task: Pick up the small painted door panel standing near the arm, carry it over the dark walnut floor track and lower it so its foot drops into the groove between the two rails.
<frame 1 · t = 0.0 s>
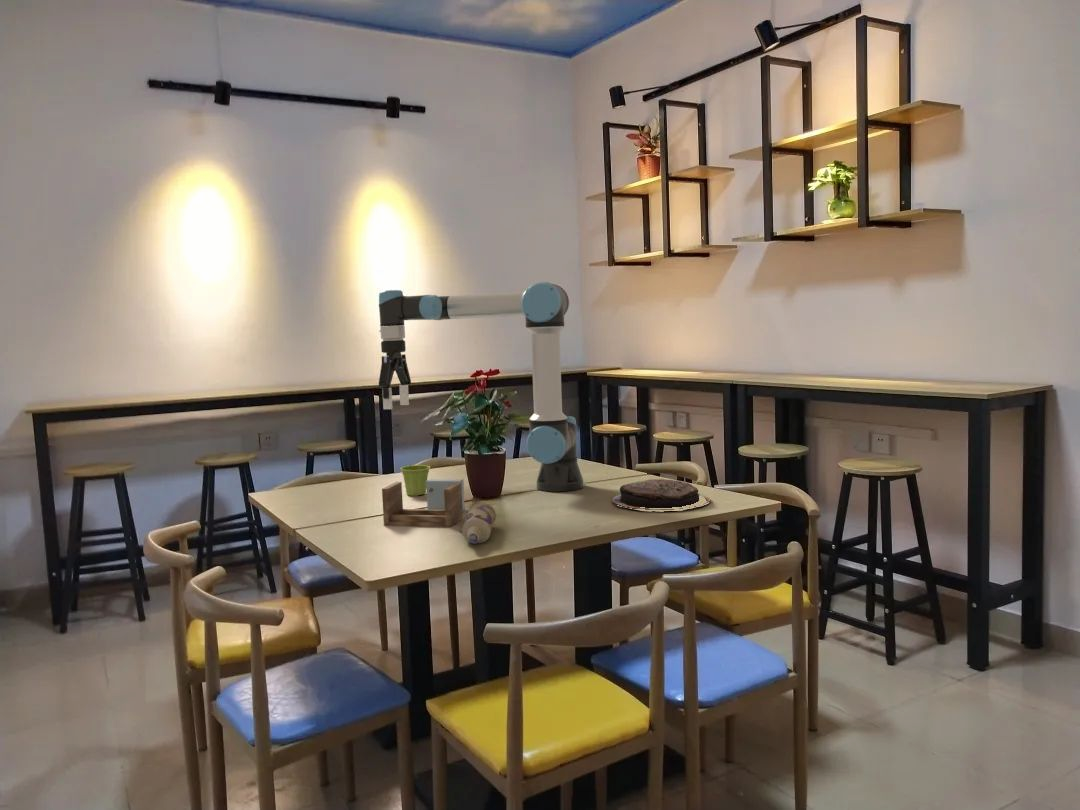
hand: (396, 407, 266), 28 cm above the table, tool pointing down, fingers open, 13 cm apart
chocolate cake: (660, 504, 243), on the table
decorative bottle: (475, 539, 208), on the table
door panel: (446, 511, 242), on the table
plant pot: (416, 495, 268), on the table
track: (423, 521, 228), on the table
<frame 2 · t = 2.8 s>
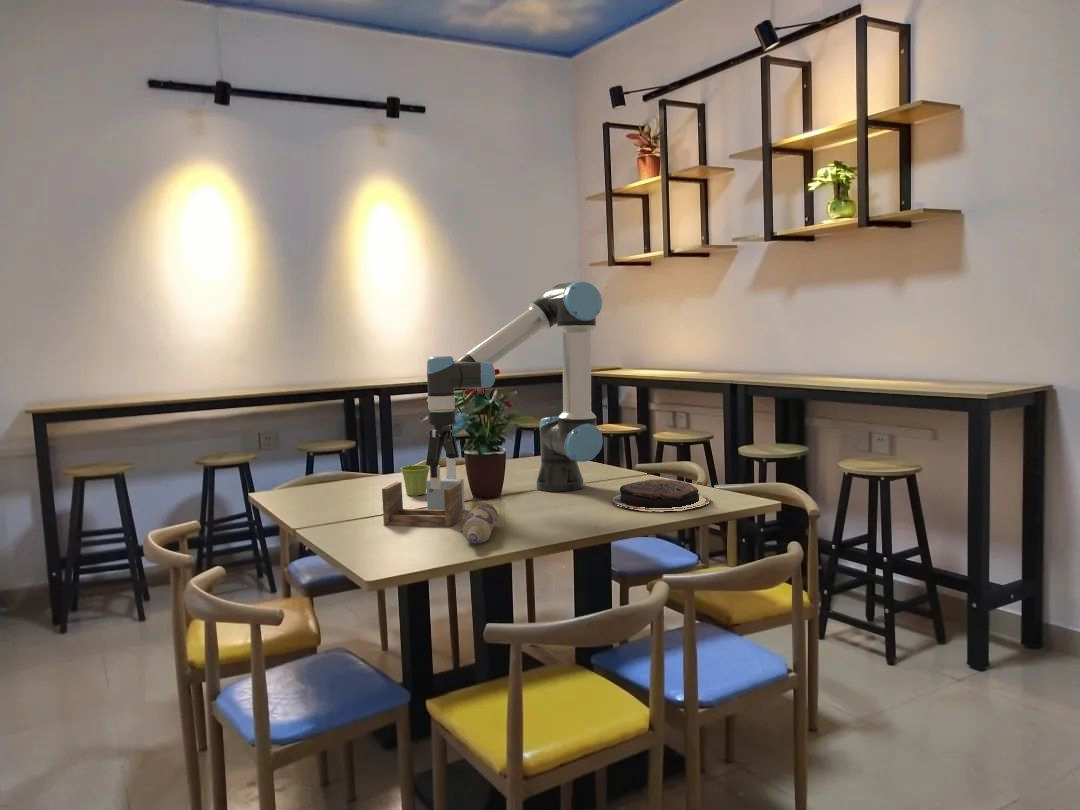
hand: (443, 484, 241), 8 cm above the table, tool pointing down, fingers open, 13 cm apart
nothing on the table moved.
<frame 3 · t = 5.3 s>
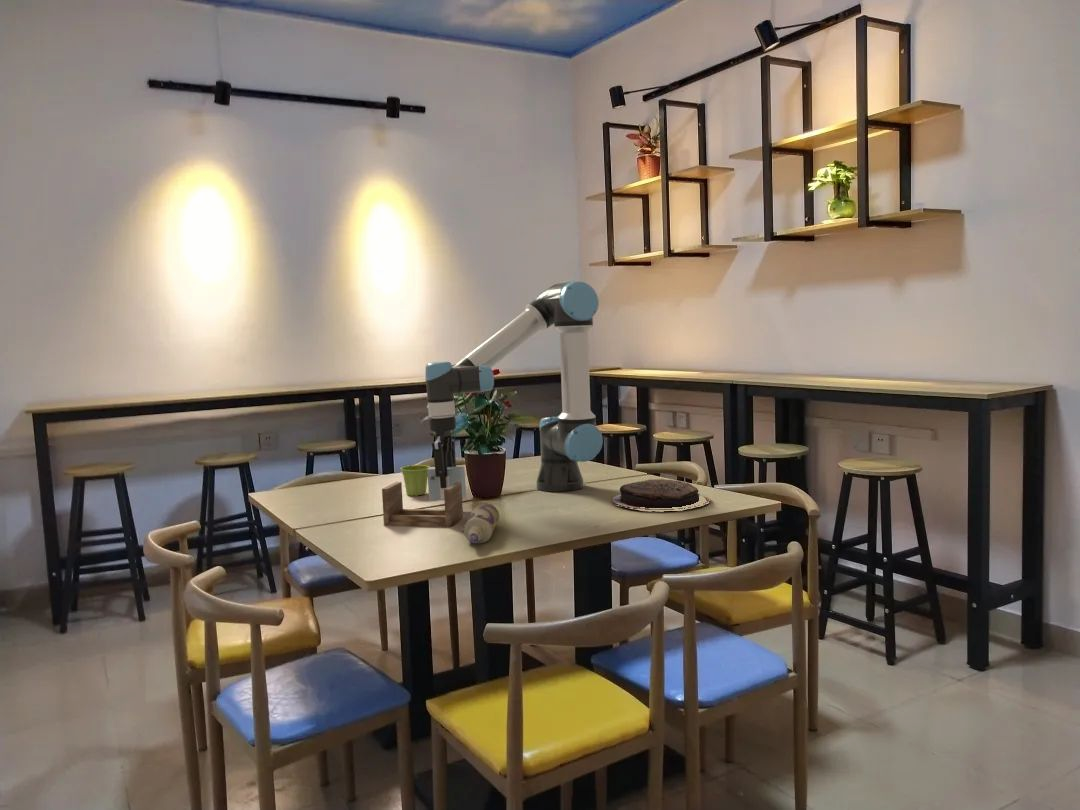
hand: (448, 497, 241), 4 cm above the table, tool pointing down, fingers closed on door panel, 3 cm apart
door panel: (447, 498, 242), point 3 cm above the table, touching gripper
everything else where it was.
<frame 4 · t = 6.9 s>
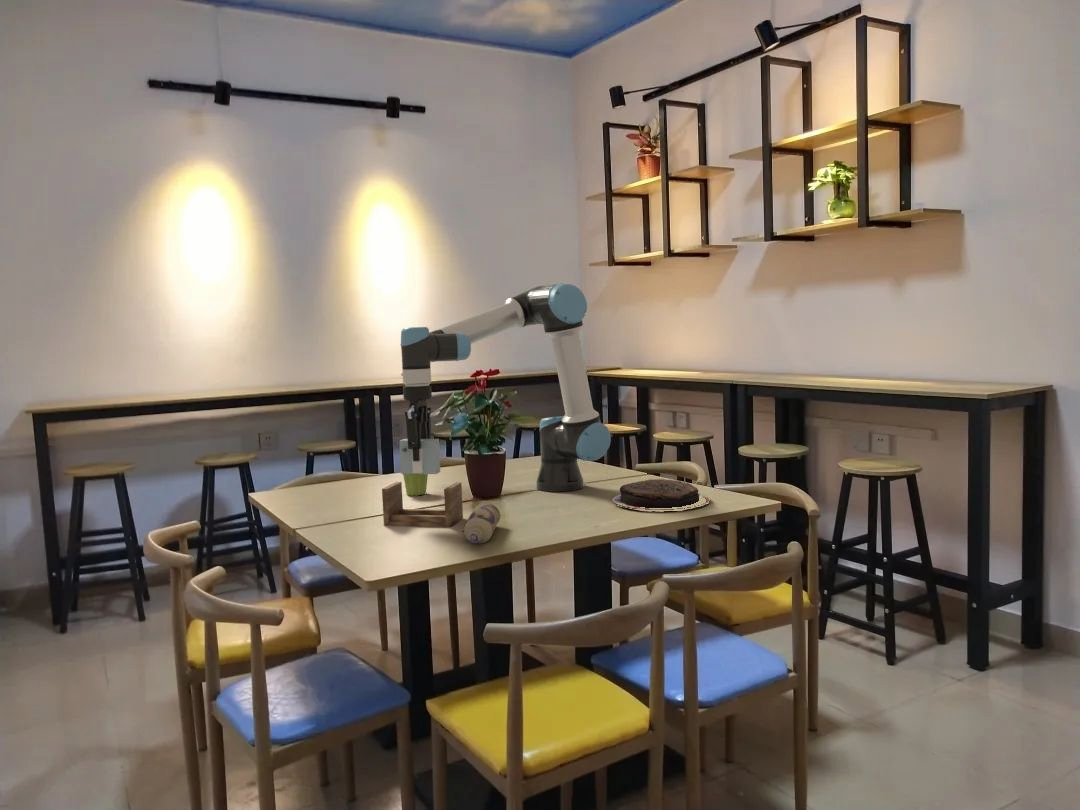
hand: (420, 471, 227), 14 cm above the table, tool pointing down, fingers closed on door panel, 3 cm apart
door panel: (420, 472, 227), point 13 cm above the table, touching gripper
everything else where it was.
when the fingers open (3 cm above the table, at t = 8.7 s): door panel drops 2 cm, resting on track.
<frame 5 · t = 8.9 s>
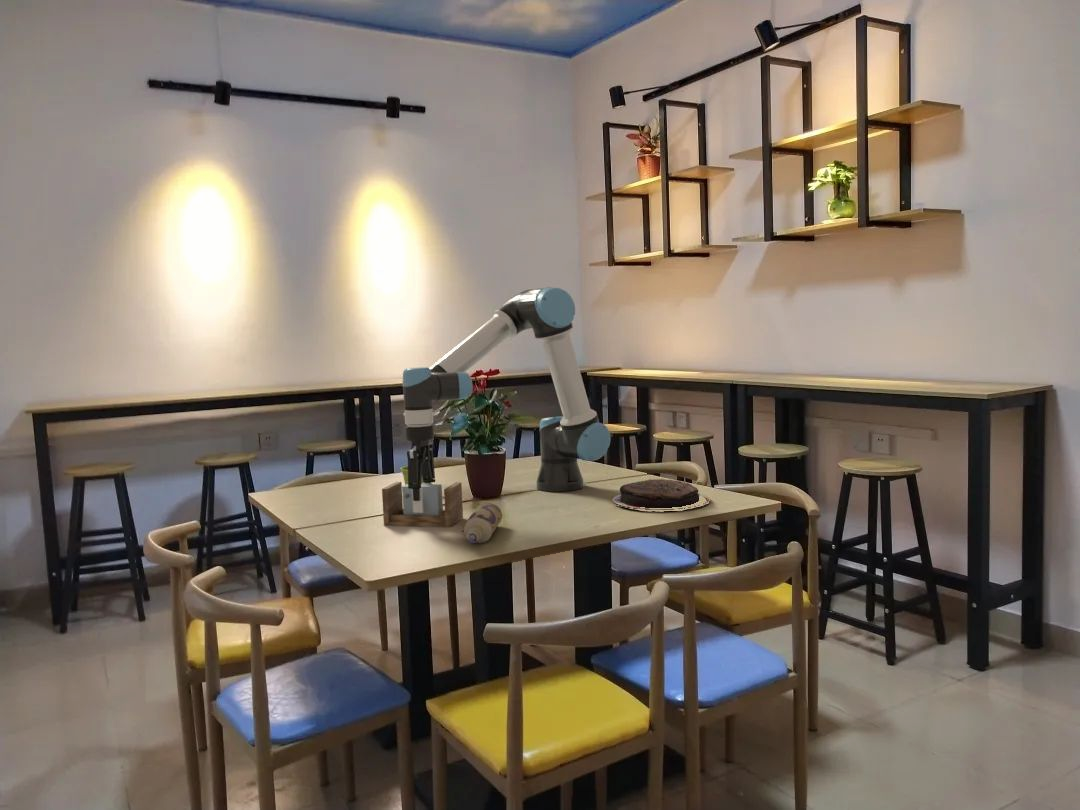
hand: (423, 509, 228), 3 cm above the table, tool pointing down, fingers open, 7 cm apart
door panel: (423, 518, 228), point 1 cm above the table, touching track
everything else where it was.
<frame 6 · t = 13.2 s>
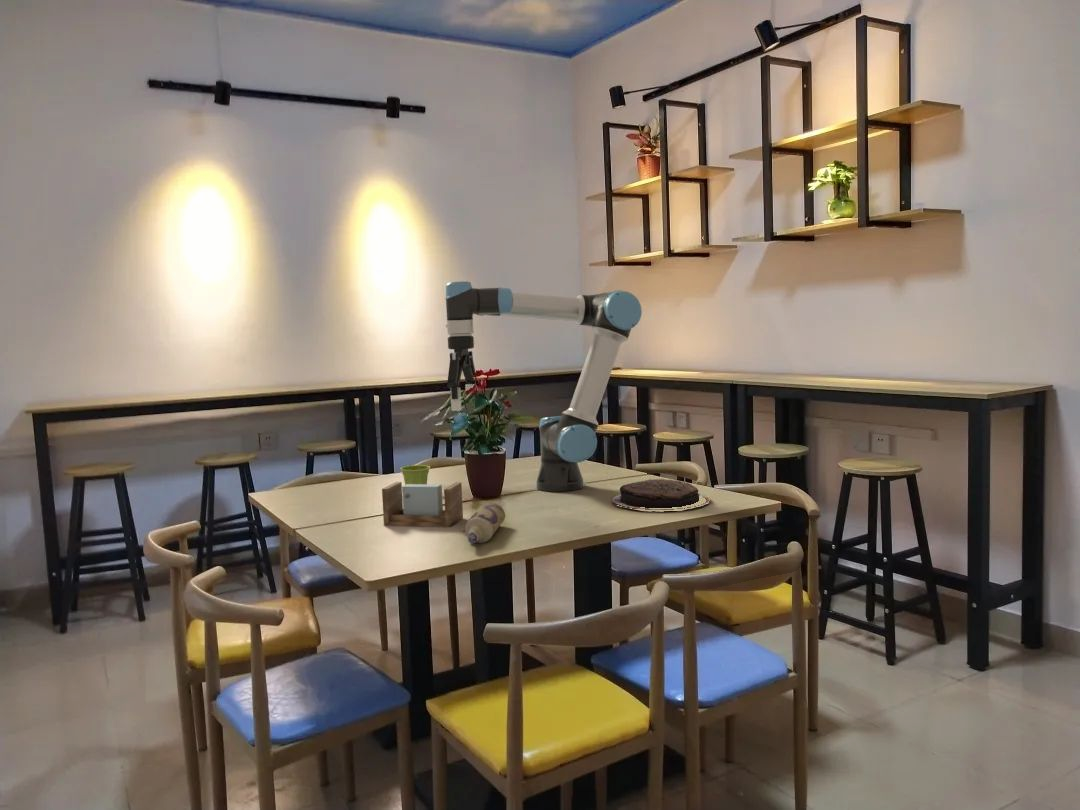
hand: (463, 408, 246), 29 cm above the table, tool pointing down, fingers open, 13 cm apart
at the end: door panel 0.1 cm off-centre on the track, point 1.0 cm above the track's base; door panel tilted 0°; the gripper is holding nothing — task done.
